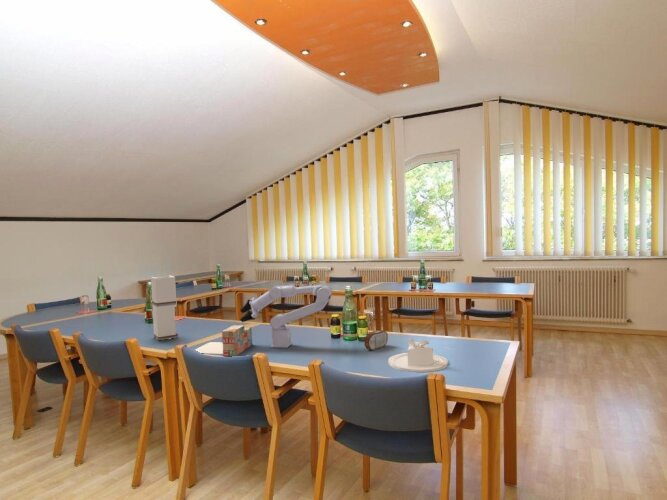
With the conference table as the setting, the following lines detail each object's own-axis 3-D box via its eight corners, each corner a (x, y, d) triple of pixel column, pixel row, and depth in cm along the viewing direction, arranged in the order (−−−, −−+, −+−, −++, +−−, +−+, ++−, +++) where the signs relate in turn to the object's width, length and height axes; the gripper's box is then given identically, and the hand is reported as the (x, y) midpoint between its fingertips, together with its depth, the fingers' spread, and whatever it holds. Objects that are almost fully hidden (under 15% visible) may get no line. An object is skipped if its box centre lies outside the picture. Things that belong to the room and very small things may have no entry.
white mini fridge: (178, 337, 244) (175, 276, 243) (158, 341, 238) (155, 278, 237) (173, 334, 253) (170, 275, 252) (154, 337, 247) (150, 277, 246)
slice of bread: (384, 344, 214) (383, 328, 213) (389, 345, 211) (388, 328, 211) (364, 351, 203) (363, 333, 203) (369, 352, 201) (368, 334, 201)
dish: (456, 370, 171) (456, 342, 171) (395, 374, 169) (394, 346, 169) (437, 353, 196) (436, 329, 195) (383, 356, 194) (382, 332, 193)
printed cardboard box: (241, 344, 224) (240, 321, 224) (252, 344, 223) (251, 321, 222) (222, 356, 203) (221, 330, 203) (235, 356, 202) (234, 330, 201)
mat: (240, 343, 226) (240, 342, 226) (222, 354, 206) (222, 353, 206) (209, 342, 230) (209, 342, 230) (188, 353, 210) (188, 352, 210)
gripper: (256, 289, 223) (236, 303, 226) (257, 305, 211) (235, 320, 213) (265, 297, 227) (245, 311, 229) (266, 314, 214) (245, 328, 217)
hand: (241, 316), depth 221 cm, fingers open, 7 cm apart
